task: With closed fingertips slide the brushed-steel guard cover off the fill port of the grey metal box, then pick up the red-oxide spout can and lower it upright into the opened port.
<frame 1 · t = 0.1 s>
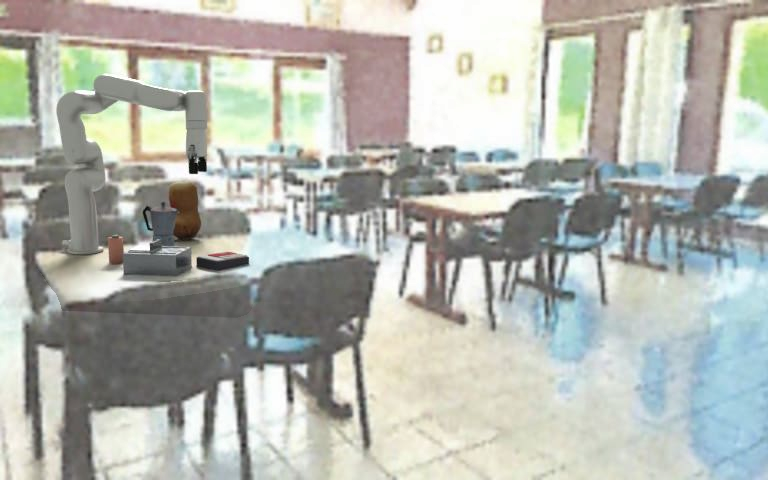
hand: (198, 172, 246), 31 cm above the table, fingers open, 9 cm apart
grey metal box: (158, 270, 228), on the table
guard cover: (146, 245, 227), point 9 cm above the table, slide at 0.0 cm
moka pot: (162, 254, 253), on the table
calculator: (223, 266, 238), on the table
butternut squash: (185, 240, 283), on the table
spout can: (116, 262, 238), on the table
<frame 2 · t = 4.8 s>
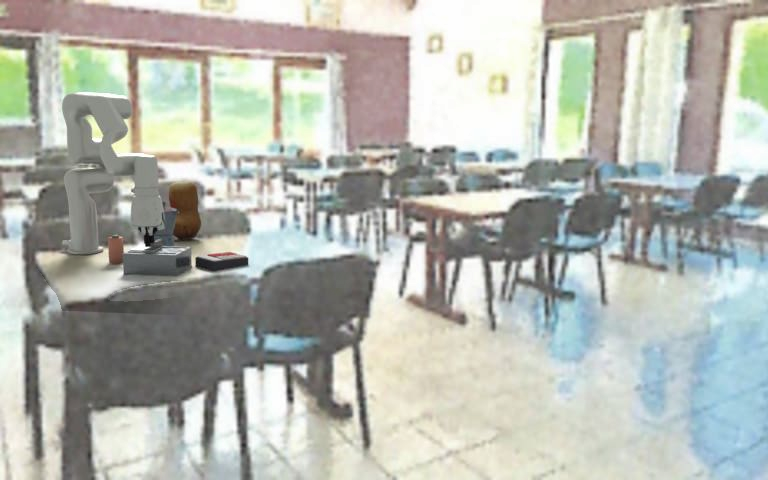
hand: (149, 246, 227), 8 cm above the table, fingers closed
guard cover: (146, 245, 227), point 9 cm above the table, slide at 0.3 cm, touching gripper
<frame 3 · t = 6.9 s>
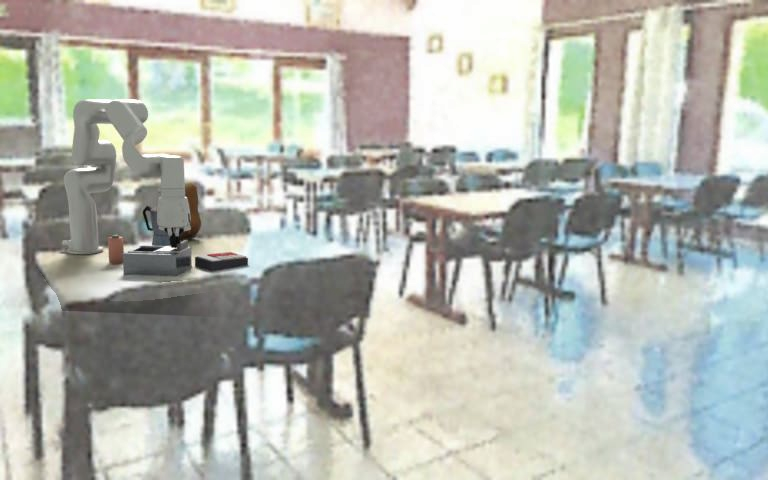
hand: (175, 247, 226), 8 cm above the table, fingers closed
guard cover: (172, 245, 226), point 9 cm above the table, slide at 9.3 cm, touching gripper
everything else where it was.
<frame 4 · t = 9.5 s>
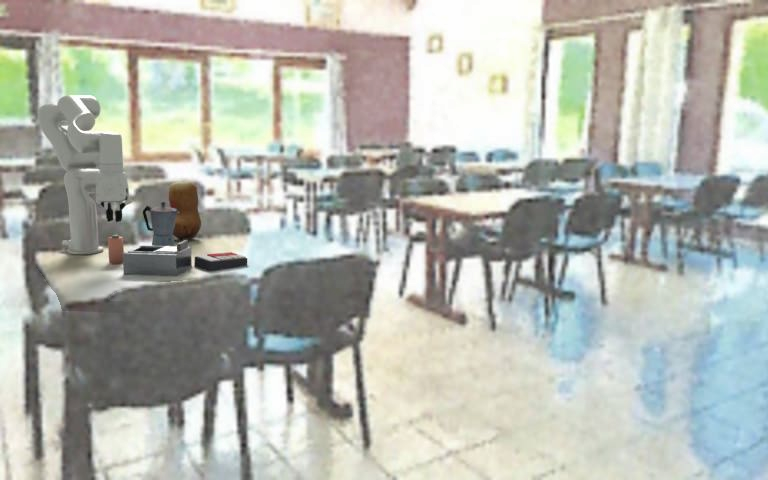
hand: (114, 220, 236), 15 cm above the table, fingers closed
guard cover: (172, 245, 226), point 9 cm above the table, slide at 9.3 cm
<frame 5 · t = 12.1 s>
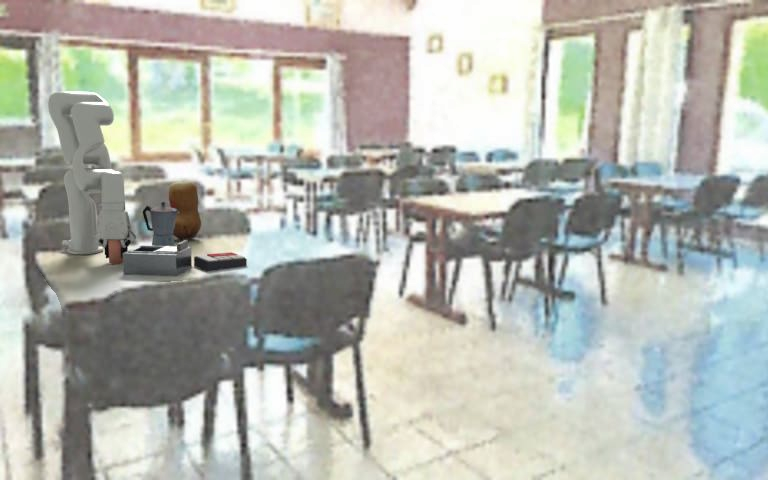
hand: (116, 257, 238), 2 cm above the table, fingers closed on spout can, 5 cm apart
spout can: (116, 262, 238), on the table, touching gripper
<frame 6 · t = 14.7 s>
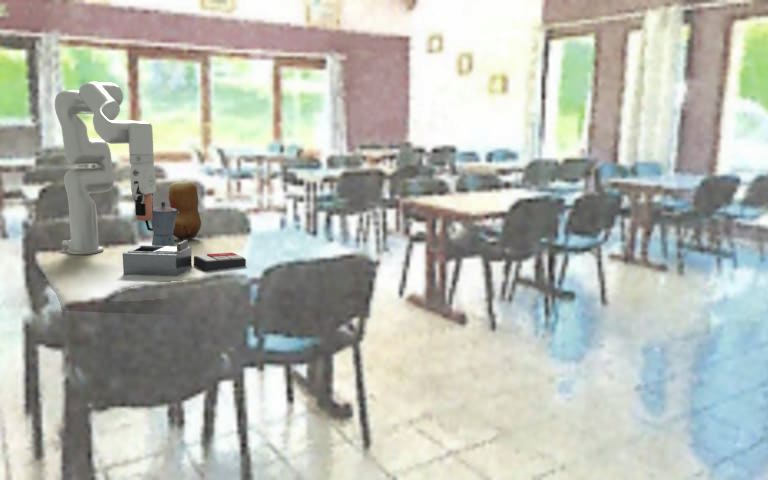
hand: (144, 213, 225), 19 cm above the table, fingers closed on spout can, 5 cm apart
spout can: (144, 219, 225), point 17 cm above the table, touching gripper
when the fingers open (8 cm above the table, at t = 17.2 s): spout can drops 3 cm, resting on grey metal box.
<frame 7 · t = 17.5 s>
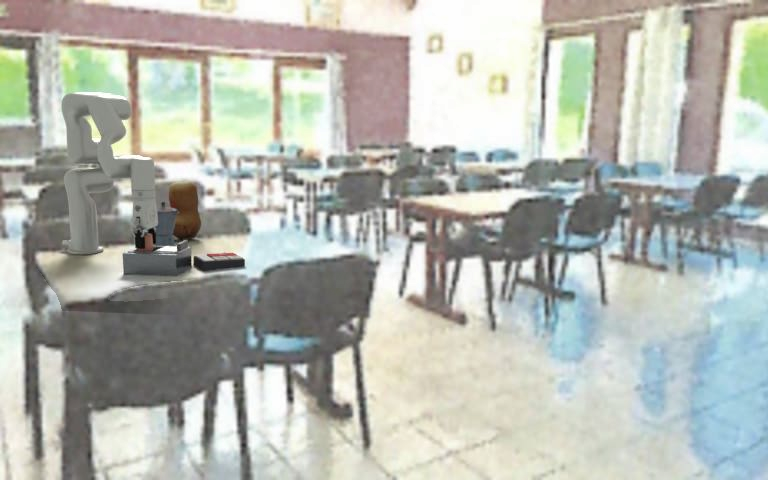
hand: (146, 245, 227), 8 cm above the table, fingers open, 8 cm apart
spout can: (146, 261, 228), point 3 cm above the table, touching grey metal box
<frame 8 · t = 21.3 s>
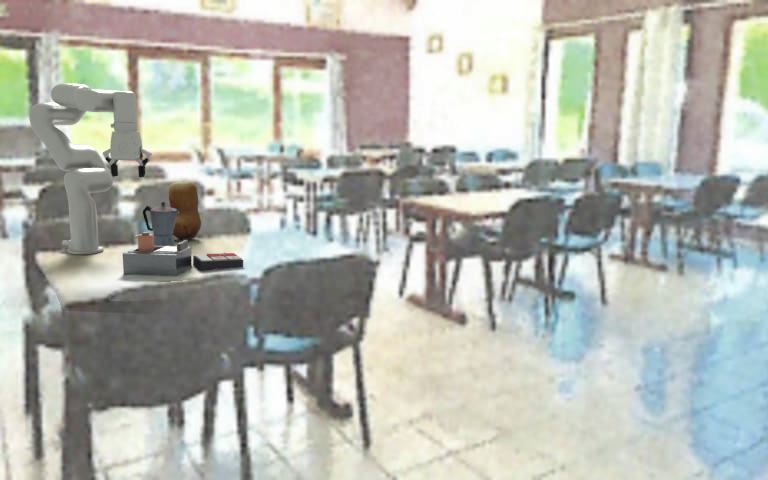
hand: (128, 176, 236), 30 cm above the table, fingers open, 9 cm apart
at the end: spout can inside the target area on the grey metal box (0.1 cm from its centre), point 3.0 cm above the grey metal box's base; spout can tilted 1°; guard cover slide at 9.3 cm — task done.
